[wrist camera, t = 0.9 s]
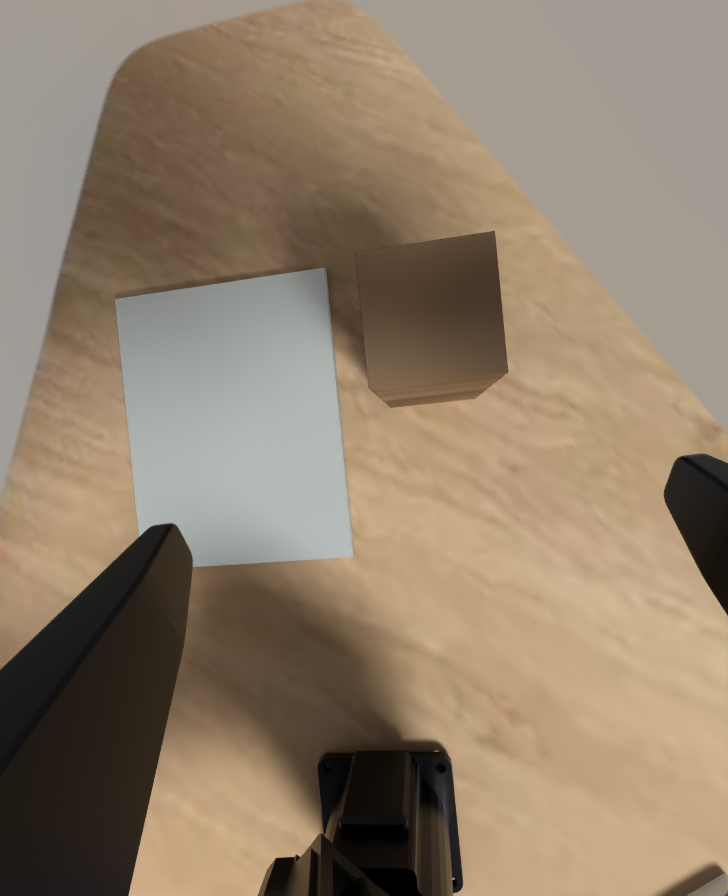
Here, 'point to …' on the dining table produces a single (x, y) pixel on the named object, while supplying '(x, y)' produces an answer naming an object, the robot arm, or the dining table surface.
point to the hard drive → (713, 887)
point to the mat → (238, 418)
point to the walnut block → (432, 319)
